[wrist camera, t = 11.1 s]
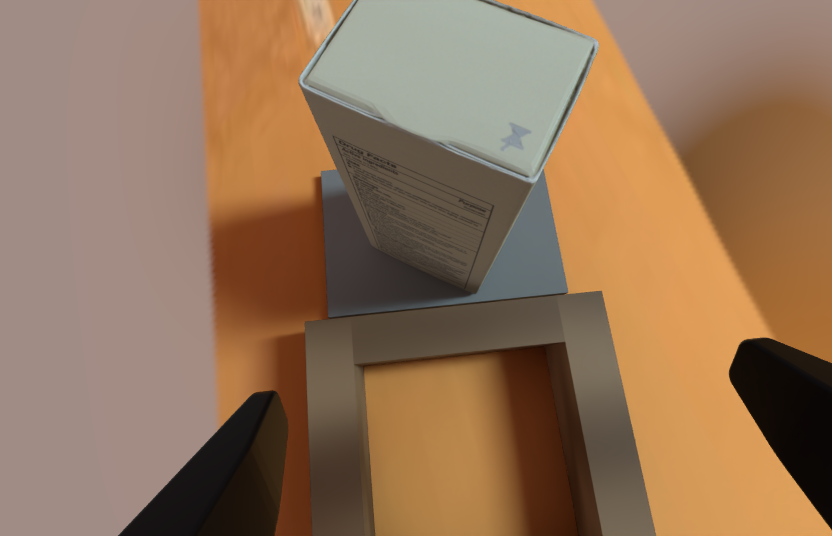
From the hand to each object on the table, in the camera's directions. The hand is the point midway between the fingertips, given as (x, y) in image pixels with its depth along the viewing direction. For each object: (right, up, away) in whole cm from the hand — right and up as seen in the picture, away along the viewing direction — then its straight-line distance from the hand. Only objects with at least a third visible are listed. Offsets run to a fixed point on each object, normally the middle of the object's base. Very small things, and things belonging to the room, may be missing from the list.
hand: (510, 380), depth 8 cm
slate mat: (-1, +4, +14) cm, 15 cm away
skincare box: (-1, +4, +14) cm, 14 cm away
